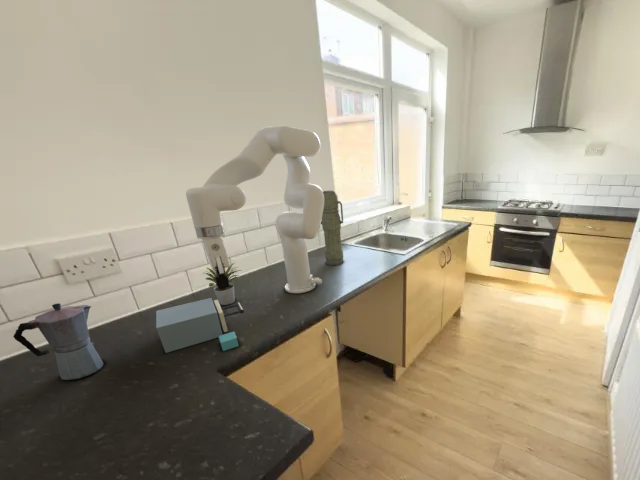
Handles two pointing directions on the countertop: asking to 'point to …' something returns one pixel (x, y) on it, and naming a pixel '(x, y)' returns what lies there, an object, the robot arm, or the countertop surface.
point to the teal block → (228, 341)
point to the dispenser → (187, 324)
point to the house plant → (227, 293)
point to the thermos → (332, 228)
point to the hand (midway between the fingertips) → (223, 287)
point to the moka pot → (65, 340)
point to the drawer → (221, 315)
